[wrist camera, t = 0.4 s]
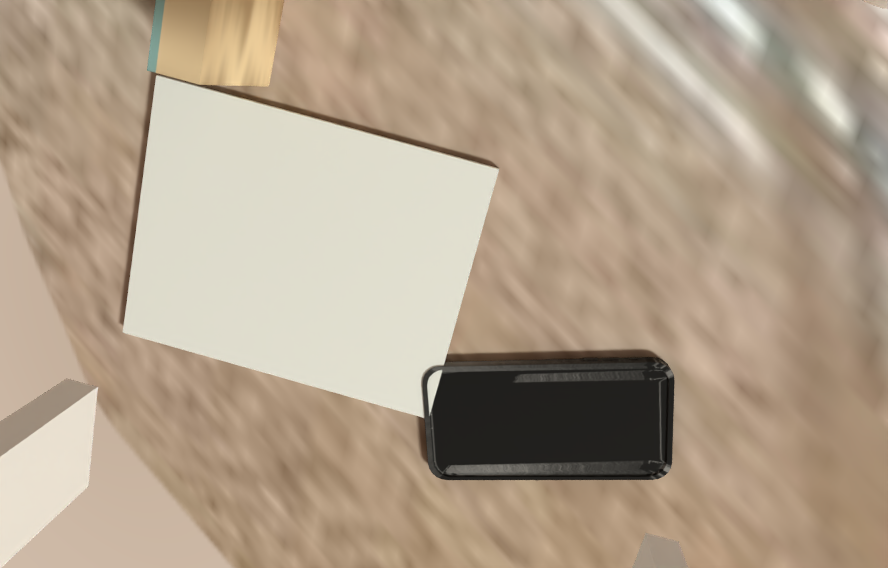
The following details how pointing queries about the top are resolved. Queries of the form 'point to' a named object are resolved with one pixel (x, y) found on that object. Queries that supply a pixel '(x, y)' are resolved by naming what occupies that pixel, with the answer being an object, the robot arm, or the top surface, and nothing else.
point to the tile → (215, 40)
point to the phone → (551, 419)
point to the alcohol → (878, 3)
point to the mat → (302, 245)
